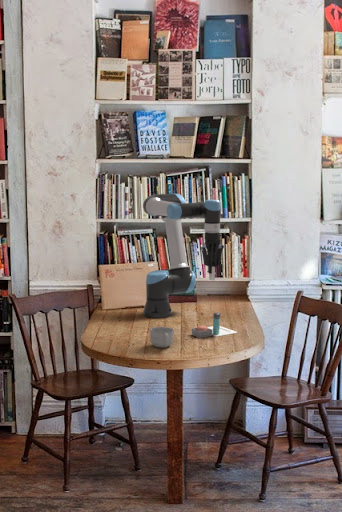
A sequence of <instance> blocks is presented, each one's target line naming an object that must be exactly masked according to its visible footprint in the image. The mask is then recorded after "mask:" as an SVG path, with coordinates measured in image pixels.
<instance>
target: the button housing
mask: <svg viewBox="0 0 342 512" xmlns="http://www.w3.org/2000/svg"><path fill="white" fill-rule="evenodd" d="M191 335H192V336H195V337H197V338H199V339H203V338H207V337H212V336H213V335H212V329H209V328H207V330H205V331H199V330H197V327H193V328H191Z"/></svg>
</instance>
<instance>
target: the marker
mask: <svg viewBox="0 0 342 512" xmlns="http://www.w3.org/2000/svg"><path fill="white" fill-rule="evenodd" d="M212 314H213V315H212V316H213V317H212V320H213V322H212V326H213V333H212V334H214V335H218V334H219V329H220V326H221V316H222V315H221V313H220V312H213V313H212Z"/></svg>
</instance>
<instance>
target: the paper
mask: <svg viewBox="0 0 342 512" xmlns="http://www.w3.org/2000/svg"><path fill="white" fill-rule="evenodd" d="M206 327H207V328H209V329H212V333H213V325H212V326H206ZM238 333H239V332H238V331H236V330H232V329H231V328H230V329H229V328H227V327H224V326H221V325H220V329H219V334H218V335H214V334H212V336H213V337H215V338H217V337H222V336H228V335H233V334H238Z"/></svg>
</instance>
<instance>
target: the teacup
mask: <svg viewBox="0 0 342 512" xmlns="http://www.w3.org/2000/svg"><path fill="white" fill-rule="evenodd" d="M174 333H175V329H174V328H173V327H167V326H154V327H151V328H150V330H149V336H150V337H149V338H150V343H151V345H153V346H154V347H155V348H161V349H163V348H168V347H170V346H171V345H173V343H174V336H175V335H174Z"/></svg>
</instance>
